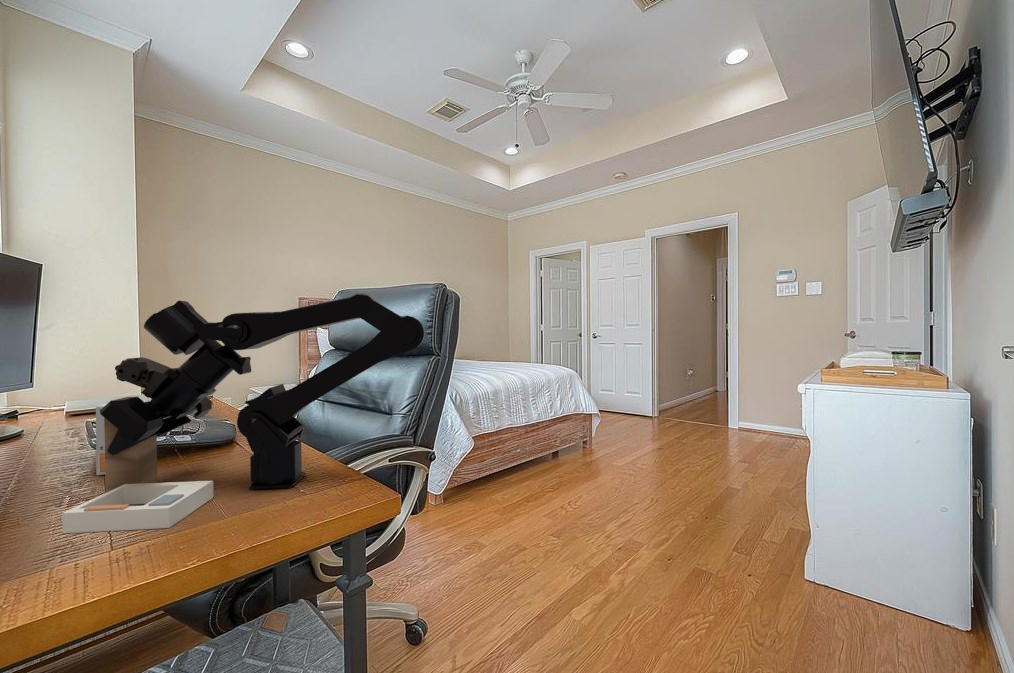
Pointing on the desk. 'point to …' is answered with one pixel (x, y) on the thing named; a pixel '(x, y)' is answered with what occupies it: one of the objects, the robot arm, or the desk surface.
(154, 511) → the tray
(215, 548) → the desk surface
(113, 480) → the walnut plug
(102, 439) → the skincare box
